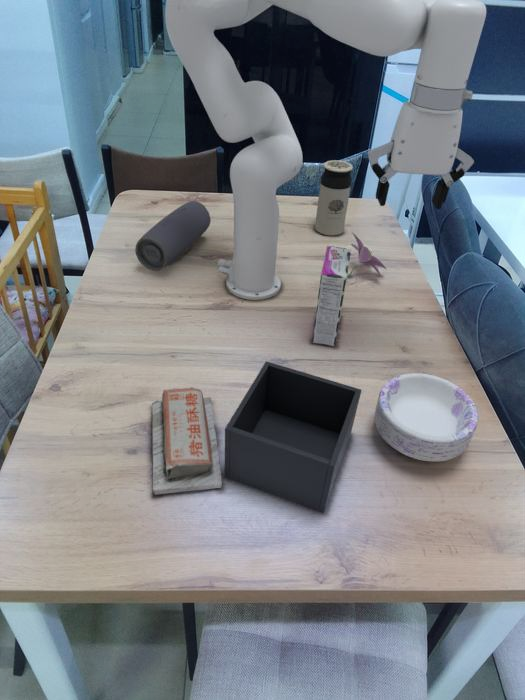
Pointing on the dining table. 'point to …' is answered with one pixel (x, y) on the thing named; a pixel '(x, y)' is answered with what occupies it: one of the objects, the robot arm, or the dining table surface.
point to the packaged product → (184, 443)
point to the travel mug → (333, 197)
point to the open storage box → (291, 434)
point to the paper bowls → (425, 417)
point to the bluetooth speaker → (172, 236)
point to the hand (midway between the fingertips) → (408, 204)
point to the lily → (366, 256)
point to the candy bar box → (331, 295)
